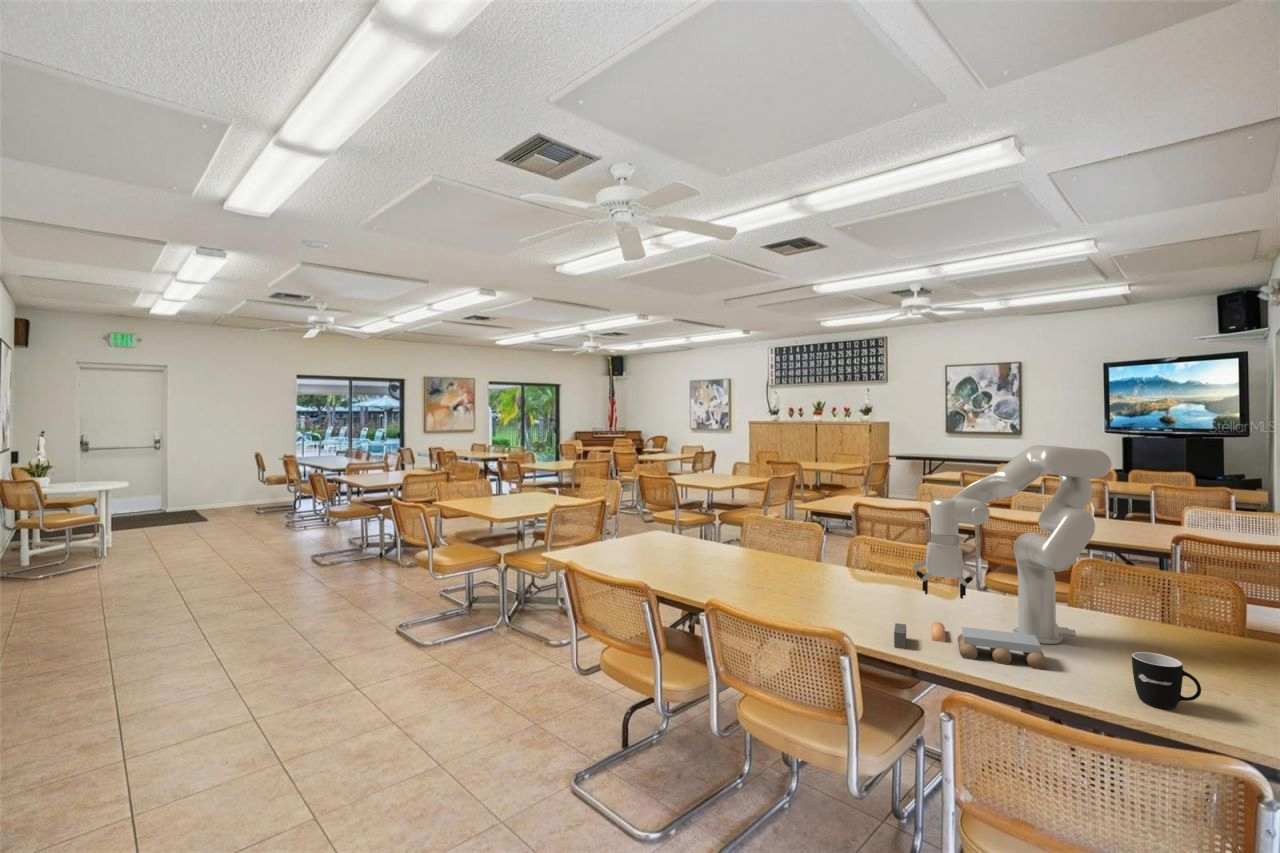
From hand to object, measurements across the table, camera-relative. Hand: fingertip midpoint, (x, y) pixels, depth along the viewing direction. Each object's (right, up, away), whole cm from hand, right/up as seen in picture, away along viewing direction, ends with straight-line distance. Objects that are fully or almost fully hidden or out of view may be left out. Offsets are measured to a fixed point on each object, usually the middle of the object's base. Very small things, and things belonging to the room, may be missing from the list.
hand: (943, 595), depth 181 cm
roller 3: (+15, -11, -19) cm, 27 cm away
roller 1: (0, -12, 0) cm, 12 cm away
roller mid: (+8, -11, -16) cm, 21 cm away
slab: (+8, -9, -16) cm, 20 cm away
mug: (+29, -13, -44) cm, 54 cm away
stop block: (-15, -14, -5) cm, 21 cm away
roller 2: (0, -11, -12) cm, 16 cm away
